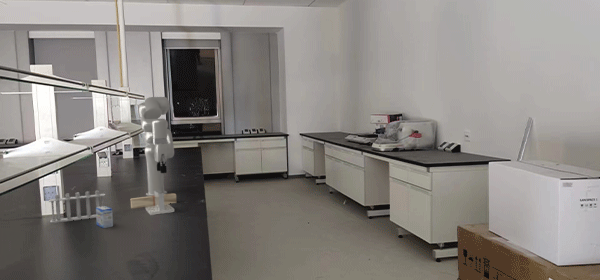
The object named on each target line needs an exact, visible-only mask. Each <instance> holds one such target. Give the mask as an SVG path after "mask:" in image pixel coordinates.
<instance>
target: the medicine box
mask: <svg viewBox="0 0 600 280" xmlns="http://www.w3.org/2000/svg"><path fill="white" fill-rule="evenodd" d="M95 215H96V218H95V219H96V226H98V227H99V228H102V229H107V228H112V227H113V226H114V220H113V219H114V218H113V208H111V207H109V206H106V205H104V206H102V205H100V207H95Z"/></svg>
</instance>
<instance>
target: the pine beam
mask: <svg viewBox="0 0 600 280" xmlns="http://www.w3.org/2000/svg"><path fill="white" fill-rule="evenodd" d="M129 201H130V208H131V209H132V210H133V209H140V208H146V207H148V206H155V196H141V197H133V198H132V197H131V198H130V200H129ZM170 203H171V204H177V194H176V193H174V192H173V193H172V192H171V193H167V194H164V204H169V205H171V204H170Z"/></svg>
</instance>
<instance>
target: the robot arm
mask: <svg viewBox="0 0 600 280" xmlns="http://www.w3.org/2000/svg"><path fill="white" fill-rule="evenodd" d="M169 109H170V100H169V99H168V97H167V96H150V97H147V98H146V99H145V101H143V102H141V103H139V105H138V110H137V111H138V115H139V118H140V124H141V129H142V131H143V132H144V136H145V138H144V139H145V141H146V143H147V145H146V146H145V147H144V155H145V161H146V173H147V175H146V176H147V191H148V192H146V193H145V196H146V197H148V196H155V194H154V190H160V191H161V192H162V193H164V194H168V191H167V190H165V180H164V177H165V176H164V174H167V160H168V159H172V158H173V157H174V155H175V146H174V140H173V135H172V134H173V133H172V131H171V130H170V129H169V122H168V120H166V118H160V117H161V116H163V115H164V116H165V115H166V114H167V113H168V111H169Z"/></svg>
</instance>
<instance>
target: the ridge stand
mask: <svg viewBox="0 0 600 280" xmlns="http://www.w3.org/2000/svg"><path fill="white" fill-rule="evenodd" d="M154 194H155V206H148V207H145V210H146V212H147V214H149V215H150V216H155V215H160V214H169V213H174V212H175V208H174V207H173V206H172V205H171V204H164V193H162V192H161V191H160V190H154Z"/></svg>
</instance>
